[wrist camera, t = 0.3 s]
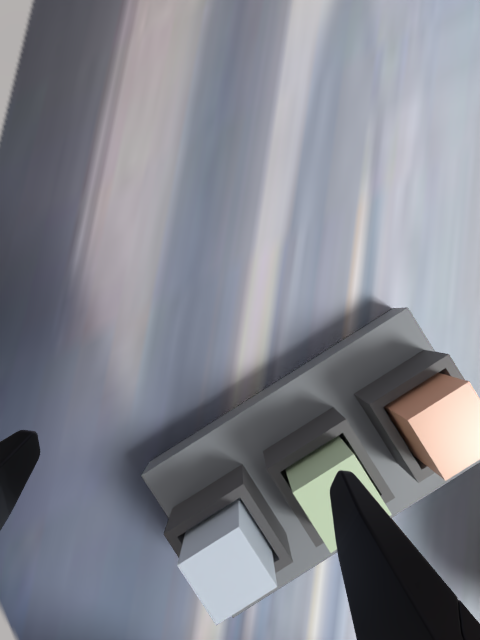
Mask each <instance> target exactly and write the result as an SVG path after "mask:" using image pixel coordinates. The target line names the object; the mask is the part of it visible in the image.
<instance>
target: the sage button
mask: <svg viewBox="0 0 480 640" xmlns="http://www.w3.org/2000/svg"><path fill="white" fill-rule="evenodd" d="M285 470H286V473H287V477H288V480H289V483H290V486H291V489H292V493H293V494H294V496H295V497H296V499H297V501H298V502H299V504H300V505H301V507H302V508H303V510H304V512H305V513H306V515H307V516H308V518H309V520H310V521H311V523H312V524H313V526H314V527H315V529H316V531H317V532H318V534H319V535H320V537H321V538H322V540H323V542H324V543H325V545H326V546H327V548H328V549H329V551H330V553H332V552H334V551H335V550H337V546H336V539H335V532H334V524H333V516H332V508H331V500H330V487H331V484H332V482H333V480H334V478H335V476H336V474H337V472H338V471H339V470H344V471H350V472H352V473H354V474H355V475H356V477H357V478H358V479H359V480H360V481H361V483H362V484H363V485H364V486H365V487H366V489H367V490H368V491H369V492H370V493H371V495H372V496H373V497H374V498H375V499H376V501H377V502H378V503H379V504H380V505H381V507H382V508H383V509H384V510H385V511H386V512H387V514H388V515H389V516H391V515H392V514H391V512H390V511H389V509H388V507H387V506H386V504H385V503H384V501H383V499H382V498H381V496H380V495H379V493H378V492H377V490H376V488H375V487H374V485H373V484H372V482H371V480H370V479H369V477H368V476H367V474H366V472H365V471H364V469H363V468H362V466H361V464H360V463H359V461H358V460H357V458H356V456H355V455H354V454H353V452H352V451H351V450H350V449H349V448H348V446H347V445H346V444H345V443H344V442H343V440H342V439H341V438H340V437H339V436H337V437H335V438H333V439H332V440H330V441H329V442H327V443H326V444H324V445H322V446H321V447H319V448H318V449H316V450H314V451H313V452H311V453H310V454H308V455H306V456H305V457H303V458H302V459H300V460H299V461H297V462H295V463H294V464H292V465H291V466H289V467H287V468H286V469H285Z"/></svg>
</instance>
